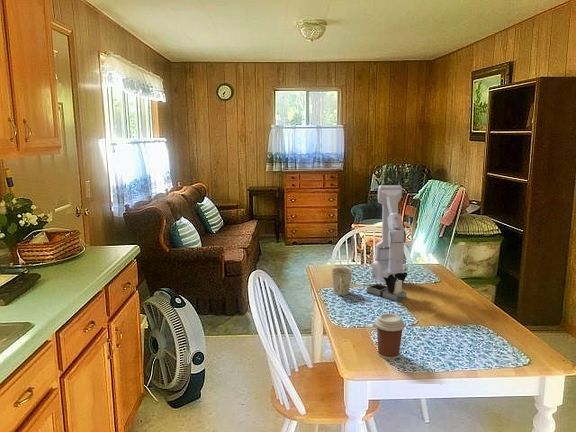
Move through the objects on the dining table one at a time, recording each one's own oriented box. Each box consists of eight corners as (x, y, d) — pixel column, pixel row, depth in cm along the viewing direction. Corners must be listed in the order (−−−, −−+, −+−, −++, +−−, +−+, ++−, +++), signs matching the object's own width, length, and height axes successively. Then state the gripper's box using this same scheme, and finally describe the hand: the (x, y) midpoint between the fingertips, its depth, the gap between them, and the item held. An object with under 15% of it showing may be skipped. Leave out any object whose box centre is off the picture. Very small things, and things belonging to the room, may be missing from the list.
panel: (365, 293, 203) (365, 287, 202) (377, 289, 209) (377, 282, 208) (395, 303, 192) (395, 296, 191) (407, 298, 198) (408, 291, 197)
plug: (387, 297, 197) (388, 278, 196) (393, 294, 200) (393, 276, 199) (395, 299, 195) (396, 281, 193) (401, 297, 197) (402, 278, 196)
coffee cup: (399, 347, 154) (400, 311, 151) (407, 361, 145) (409, 323, 142) (370, 347, 153) (372, 311, 151) (376, 361, 144) (378, 323, 142)
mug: (351, 290, 207) (351, 268, 205) (352, 300, 195) (352, 277, 193) (331, 289, 208) (331, 267, 206) (331, 300, 195) (331, 276, 194)
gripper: (393, 264, 187) (392, 297, 189) (414, 257, 196) (413, 289, 199) (378, 260, 192) (377, 293, 194) (400, 253, 201) (398, 285, 204)
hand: (394, 290), depth 197 cm, fingers open, 5 cm apart
